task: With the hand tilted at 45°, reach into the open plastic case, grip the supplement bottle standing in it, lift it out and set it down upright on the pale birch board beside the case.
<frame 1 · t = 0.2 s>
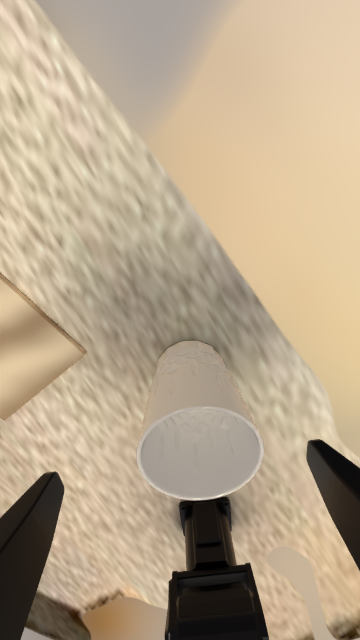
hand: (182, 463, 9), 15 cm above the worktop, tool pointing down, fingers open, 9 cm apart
white cup: (189, 368, 24), on the worktop
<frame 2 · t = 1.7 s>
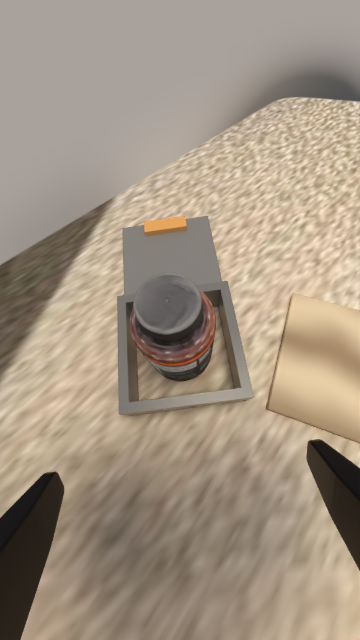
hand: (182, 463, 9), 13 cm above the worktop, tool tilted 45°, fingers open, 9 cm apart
board: (345, 367, 22), on the worktop
supplement bottle: (181, 352, 24), resting in case
case: (181, 352, 24), on the worktop
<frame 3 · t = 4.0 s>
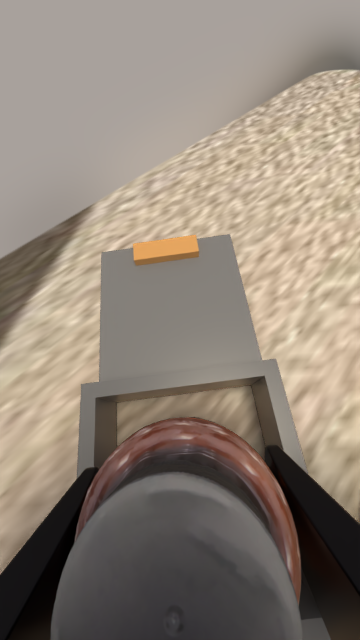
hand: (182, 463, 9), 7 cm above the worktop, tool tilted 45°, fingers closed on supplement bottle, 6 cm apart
supplement bottle: (192, 472, 14), resting in case, touching gripper
case: (192, 473, 14), on the worktop
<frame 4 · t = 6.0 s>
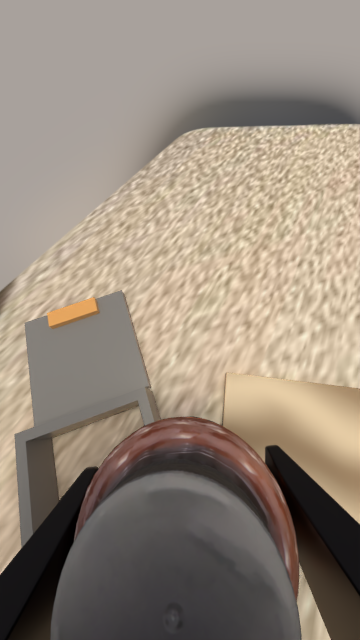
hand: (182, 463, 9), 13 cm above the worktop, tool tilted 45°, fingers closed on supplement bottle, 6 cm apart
board: (295, 455, 20), on the worktop
supplement bottle: (191, 471, 14), point 6 cm above the worktop, touching gripper
case: (110, 475, 20), on the worktop
when the fingers open (8 cm above the worktop, at t = 8.2 s): supplement bottle drops 1 cm, resting on board.
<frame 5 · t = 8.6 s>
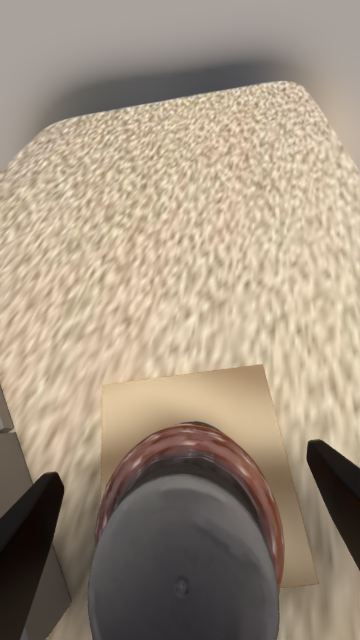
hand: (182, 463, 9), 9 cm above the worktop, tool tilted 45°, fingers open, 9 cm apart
board: (193, 466, 16), on the worktop
supplement bottle: (193, 470, 15), resting on board
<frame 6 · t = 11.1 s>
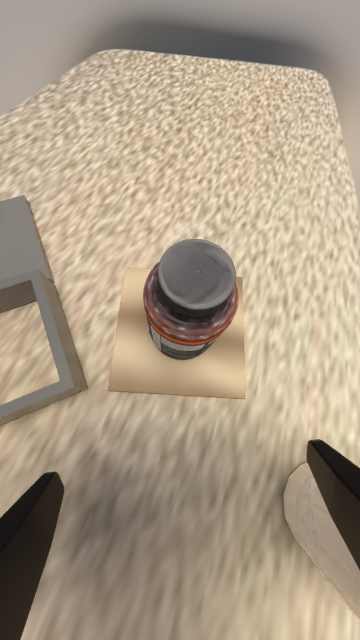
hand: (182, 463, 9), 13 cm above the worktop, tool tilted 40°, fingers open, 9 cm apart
board: (181, 330, 23), on the worktop
white cup: (320, 505, 20), on the worktop
supplement bottle: (181, 330, 23), resting on board
case: (11, 356, 21), on the worktop
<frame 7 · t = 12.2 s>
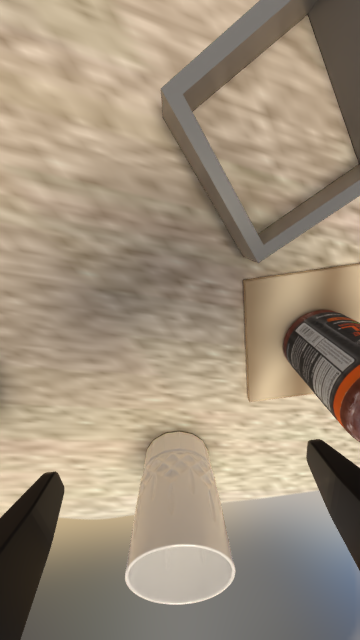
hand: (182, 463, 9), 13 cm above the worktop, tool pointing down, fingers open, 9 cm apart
board: (312, 335, 22), on the worktop
white cup: (177, 452, 27), on the worktop
supplement bottle: (312, 338, 21), resting on board
case: (273, 143, 16), on the worktop
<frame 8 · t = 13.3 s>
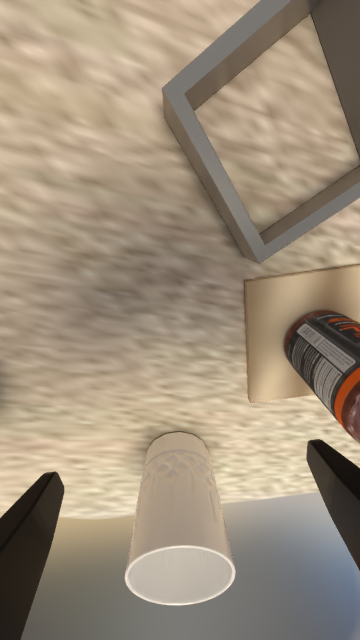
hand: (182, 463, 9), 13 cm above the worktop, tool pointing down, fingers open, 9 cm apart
board: (313, 336, 21), on the worktop
white cup: (177, 452, 27), on the worktop
supplement bottle: (313, 339, 21), resting on board
case: (275, 143, 16), on the worktop
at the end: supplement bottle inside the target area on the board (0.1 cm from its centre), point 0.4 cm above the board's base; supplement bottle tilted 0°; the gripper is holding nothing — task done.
